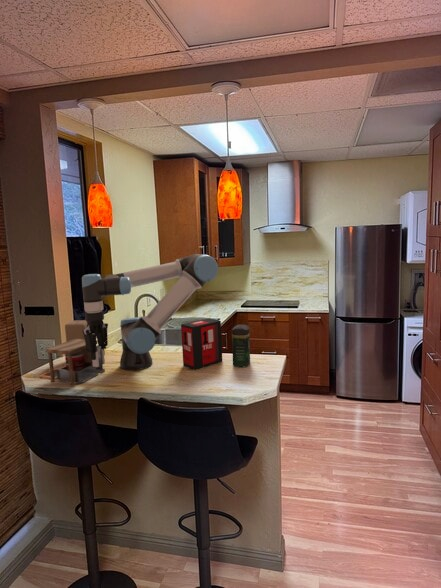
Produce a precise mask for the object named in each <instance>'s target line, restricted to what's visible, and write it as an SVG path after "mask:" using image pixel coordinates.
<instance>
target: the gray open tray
mask: <svg viewBox="0 0 441 588" xmlns="http://www.w3.org/2000/svg"><path fill="white" fill-rule="evenodd" d="M96 352H98V360H99V367H93V363H90V362H85V368H84V369H82V370H80V371H73V375H74V384H82V383H83V382H85V381H87V380H90V379H91V378H93V377H95V376H98V375H99V374H104V373H105V372H106V370H105V368H104V366H103V365H104V364H102V353H101V346H100V345H98V344H96ZM58 368H59V369H57V376H58V379H57V381H58V382H67V383H70V375H69V370H67V369H66V365H65V366H62V367H58Z"/></svg>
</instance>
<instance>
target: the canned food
mask: <svg viewBox="0 0 441 588" xmlns="http://www.w3.org/2000/svg"><path fill="white" fill-rule="evenodd" d="M71 355H72V365H73V371H80V370H82V369H84V368H85V358H84V352H81V351H78V352H76V353H73V354H71ZM64 357H65V366H66V369H67V370H69V365H68V356H67V355H66V354H64Z"/></svg>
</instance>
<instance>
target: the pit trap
mask: <svg viewBox="0 0 441 588" xmlns="http://www.w3.org/2000/svg"><path fill="white" fill-rule="evenodd" d="M59 368H60V367H56V368H54V376H55V381H56V380H58V376H57V369H59ZM39 377H42V378H41V379H46V380H47V379H48V380H51V375H50V370H49V371H47V372H44V373H42V374H40V375H38V378H39Z"/></svg>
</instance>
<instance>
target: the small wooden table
mask: <svg viewBox="0 0 441 588" xmlns="http://www.w3.org/2000/svg"><path fill="white" fill-rule="evenodd" d="M96 345H98V341H97V340H96ZM78 351H81V352H84V358H85V362H90V363H93V362H92V359H91V352H87V350H86V344H85V340H83V339H73V340H70V341H67V342H66V341H65V342H61V343H59V344H56V345H53V346H50V347H47V348H46V349H45V352H46V353H47V355H48V356H47V357H48V363H49V371H50V375H51V379H50V383H52V384H53V383H55V382H56V380H55V376H54V369H55V368H54V357H53V354H55V355H56V354H58V355H65V354H66V355H67V356H68V365H69V375H70V382H69V385H70V386H74V385H75V383H74V375H73V365H72V355H71V354H73V353H76V352H78Z"/></svg>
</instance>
